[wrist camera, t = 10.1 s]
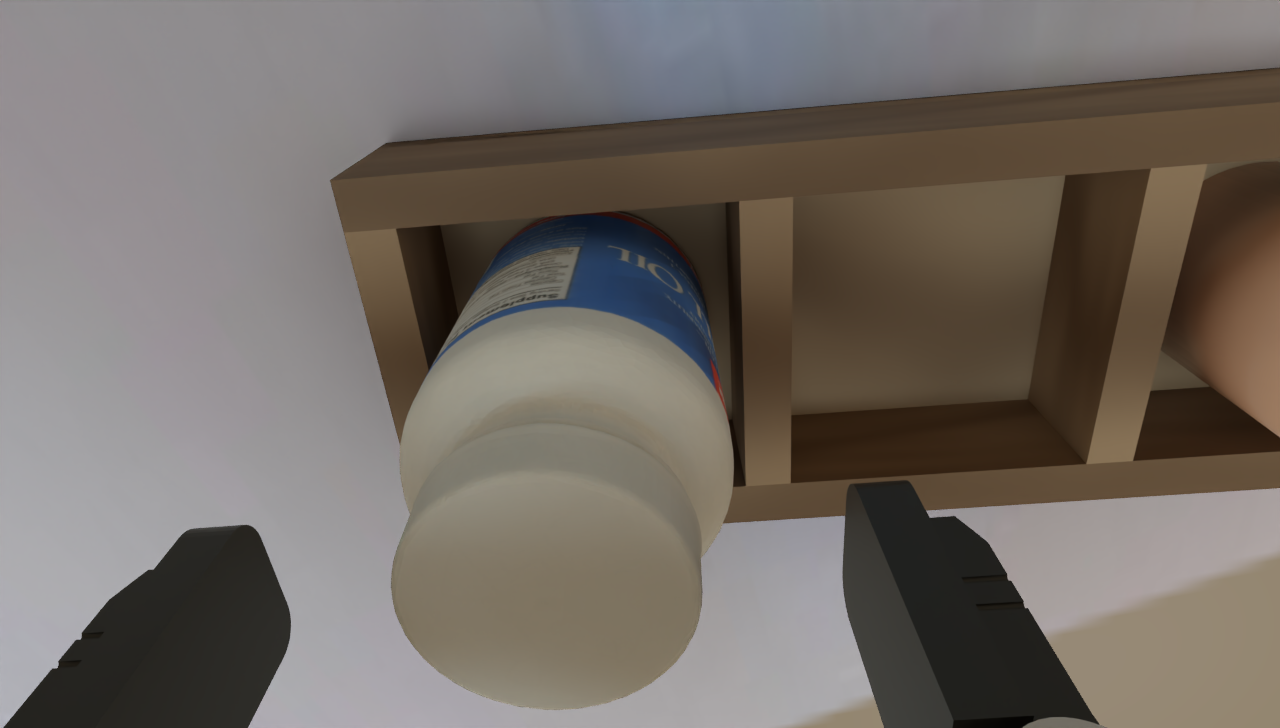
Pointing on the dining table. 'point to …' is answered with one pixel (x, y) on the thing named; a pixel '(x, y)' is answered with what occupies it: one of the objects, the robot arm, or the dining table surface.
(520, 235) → the pill bottle
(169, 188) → the dining table surface
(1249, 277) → the peach rounded cylinder
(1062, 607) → the dining table surface
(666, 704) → the dining table surface
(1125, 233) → the wooden compartment tray
